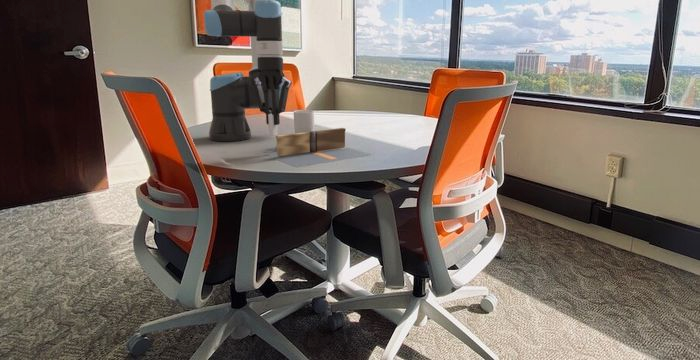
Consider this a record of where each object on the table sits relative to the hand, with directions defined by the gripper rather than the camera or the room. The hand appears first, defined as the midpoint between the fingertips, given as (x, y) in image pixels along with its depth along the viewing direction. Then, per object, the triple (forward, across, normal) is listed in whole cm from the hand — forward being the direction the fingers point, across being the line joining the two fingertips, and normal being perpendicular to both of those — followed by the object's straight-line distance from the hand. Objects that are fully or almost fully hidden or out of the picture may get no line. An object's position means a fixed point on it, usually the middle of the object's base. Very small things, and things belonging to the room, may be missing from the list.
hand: (273, 135), depth 142 cm
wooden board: (+5, +7, 0) cm, 9 cm away
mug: (+6, +2, +16) cm, 17 cm away
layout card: (+6, +13, +4) cm, 15 cm away
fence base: (+6, +13, +11) cm, 18 cm away
